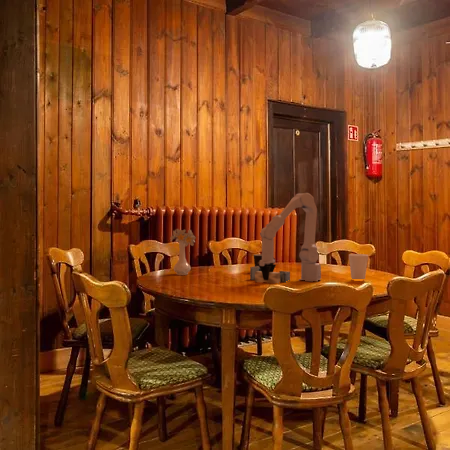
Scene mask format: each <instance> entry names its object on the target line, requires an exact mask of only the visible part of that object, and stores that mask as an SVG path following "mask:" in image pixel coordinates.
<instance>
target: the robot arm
mask: <svg viewBox="0 0 450 450" xmlns="http://www.w3.org/2000/svg"><path fill="white" fill-rule="evenodd" d="M298 208H301V209H302V210H303V211H304V212H305V222H304V223H305V224H304V235H303V236H304V237H303V243H302V245H301V248H300V251H299V253H298V254H299V256H298V257H299V259H300V260H301V264H300V265H301V267H300V268H301V269H300V270H301V276H300V278H299V279H298V281H300V280H305V281H304V282H313V281H317V282H319V281H318V280H320V279H321V280H322V266H321V264H320V263H317V261H318V260H319V253H318V247H317V246H316V233H317V232H316V229H317V215H318V208H317V204H316V203H315V197H314V196H313V195H312V194H311V193H309V192H304V193H296V194H295V195H294V196H293V197H292V198H291V200H289V202H288V203H287V205H286V206H284V209H283V210H282V211H281V212H280V213H279V215H274V216H272V217H271V220H270V221H269V223H267V224H266V225H265V227H263V228H262V229H261V230H260V232H259V235H260V237H261V254H262V260H260V265H259V267H260V269H261V271H262V275H263V279H264V280H268V278H269V272H275V268H276V266H277V264H276V258H275V257H274V255H275V254H274V253H275V251H274V246H275V245H274V243H275V241H274V238H275V237H276V235H277V232H278V231H279V230H280V228H282V226H284V224H285V220H286V218H288V216H289V215H290V214H292V212H293V211H294V210H295V209H298ZM274 258H275V259H274ZM273 263H274V264H273ZM321 280H320V281H321Z"/></svg>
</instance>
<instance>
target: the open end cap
mask: <svg viewBox="0 0 450 450" xmlns="http://www.w3.org/2000/svg"><path fill="white" fill-rule="evenodd" d="M279 273H280V283H284V282H285V283H287V282H286V281H288V280H290V281H291V271H288V270H287V271H285V270H279ZM288 282H289V281H288Z"/></svg>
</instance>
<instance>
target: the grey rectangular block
mask: <svg viewBox="0 0 450 450" xmlns="http://www.w3.org/2000/svg"><path fill="white" fill-rule="evenodd" d="M256 271H261V269H260V267H259V266H255V265H254V266H251V267H250V272H249V273H250V274H249V275H250V279H249V280H250V281H255V272H256Z"/></svg>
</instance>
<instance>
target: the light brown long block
mask: <svg viewBox="0 0 450 450" xmlns="http://www.w3.org/2000/svg"><path fill="white" fill-rule="evenodd" d="M254 282H255V283H263V282H267V283H266V284H275V283H278V284H280V283H281V282H280V273H279V272H278V271H277V272H276V271H273V272H269V278H268V280H264V279H263V275H262V271H256V272H255V280H254ZM279 282H280V283H279Z"/></svg>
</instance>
